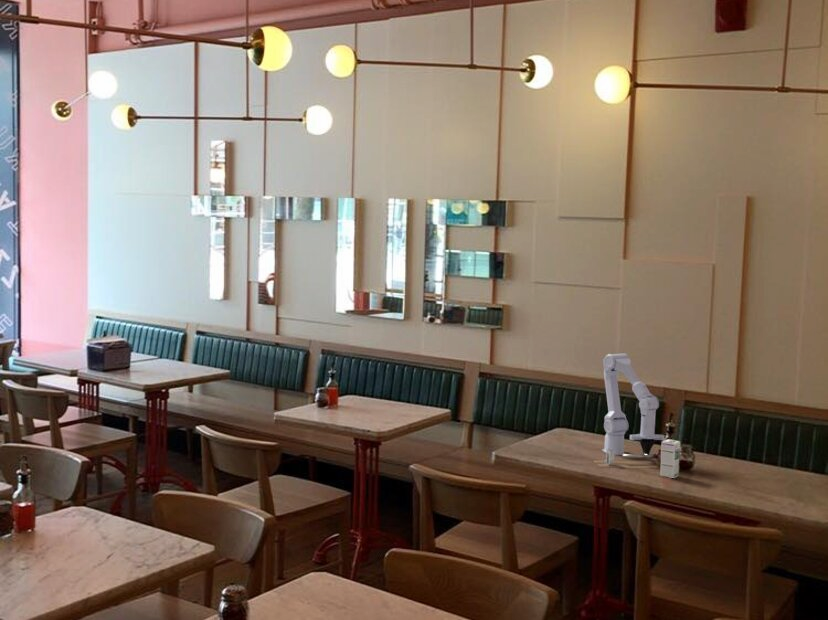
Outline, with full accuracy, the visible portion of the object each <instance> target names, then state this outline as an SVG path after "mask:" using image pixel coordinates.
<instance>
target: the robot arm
mask: <svg viewBox="0 0 828 620" xmlns="http://www.w3.org/2000/svg"><path fill="white" fill-rule="evenodd" d="M602 362H603V363H602V364H603V377H604V387H605V392H606V393H605V395H606V402H607V411H608V412H607V414H605V416H604V417H603V418H604V423H603V428H604V431H605V435H604V444H603V445H604V446H603V447H604V448H603V449H601V451H602V452H603V453H606V449H611V450H613V451H614V456H622V455H627V453H625V452H624V442H625V434H626V432H627V431H628V430H629V426H630V425H629V422H628V419H627V417H626V416H627V415H626V414H625V413H624V412H623V411H622V407H621V400H620V399H621V398H620V390H619V383H618V375H619V373H620V372H621V373H623V375H624V376H625V377H626V379H627V380H628V382H629V383H630V384H631V386H632V387H631V390H632V392H633V393H634V395H635V397H636V398H637V400H638V401H639V402H638V408H639V410H640V414H641V415H640V416H641V417H640V431H639V433H637V434H629V440H630V441H639V444H640V446H641V449H642V455H644V454H651V450H652V448H653V446H654V445H655V444H656V441H665V435H664V434H656V433H655V428H656V411H657V409H659V408H660V401H659V398H658V397H657V396H655V395H653V394H652V393H651V392H650V391H649V389H648V387H647V384H646V383H644V382H643V381H640V379H639V378H638V376H637V373H636V372H635V371H634V370H635V369H633V367H632V360H631V359H630V358H629V355H628V354H627V353H624V352H623V353H612V354H611V353H608V354H606V356H605V357H604V358H603V360H602Z"/></svg>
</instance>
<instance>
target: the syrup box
mask: <svg viewBox="0 0 828 620" xmlns="http://www.w3.org/2000/svg"><path fill="white" fill-rule="evenodd" d="M660 449H661V463H660V467H659V470H660V473H659V475H660V476H661V477H665V478H666V477H668V478H667V479H671V478H674V479H675V478H677V477H679V476H680V460H681V459H680V457H681V455H680V454H681V441H680V440H675V439H666V440H665V439H664V440H662V441H661V447H660Z"/></svg>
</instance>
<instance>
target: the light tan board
mask: <svg viewBox="0 0 828 620" xmlns="http://www.w3.org/2000/svg"><path fill="white" fill-rule="evenodd" d="M604 460H605V459H604ZM604 460H602V459H600V460H597V459H595V460H593V459H592V460H591V461H592V462H594V463H595V464H596V465H598V466H599V467H600V468H601V469H660V467H659V466H658V465H657V464H655V463H654V462H652V461H651V460H650V459H641V460H640V459H633V460H631V459H630V460H629V459H625V460H624V459H623V460H621V459H614V463H615V464H616V466H608V465H607V464H605V463H604Z"/></svg>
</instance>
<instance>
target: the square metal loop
mask: <svg viewBox="0 0 828 620" xmlns="http://www.w3.org/2000/svg"><path fill="white" fill-rule="evenodd" d="M614 460H615V455H614V451H613V450H611V449H606V452H605V459H604V463H605V464H607V465H608V466H616V464H615V463H614Z"/></svg>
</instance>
